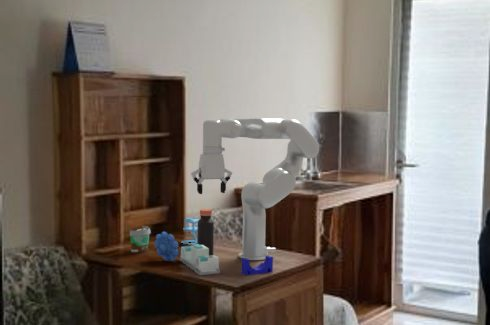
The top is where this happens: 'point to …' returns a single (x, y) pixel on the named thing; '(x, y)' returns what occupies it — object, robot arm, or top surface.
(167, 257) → the grapes
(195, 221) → the chair
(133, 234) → the food container
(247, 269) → the blue mounting bracket
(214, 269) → the rail
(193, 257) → the block
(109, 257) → the top surface
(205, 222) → the bottle
